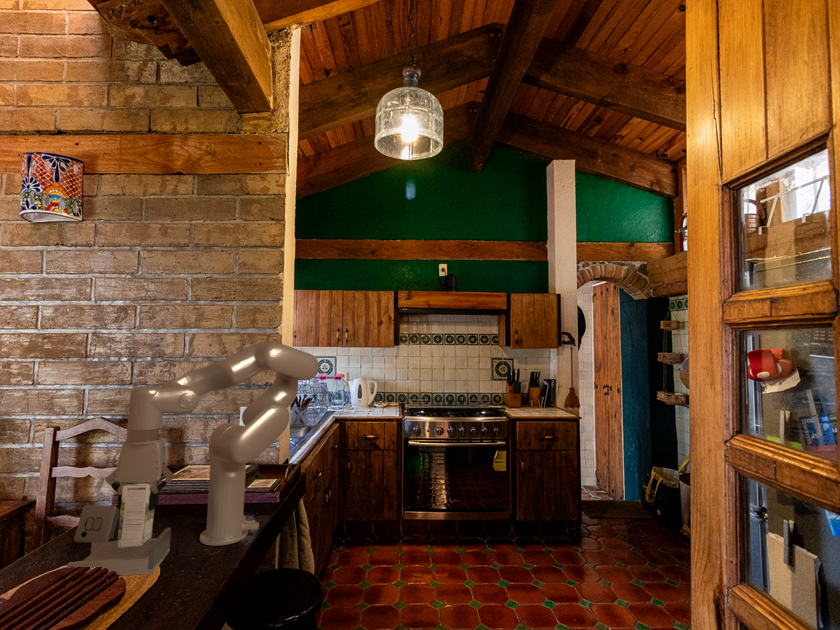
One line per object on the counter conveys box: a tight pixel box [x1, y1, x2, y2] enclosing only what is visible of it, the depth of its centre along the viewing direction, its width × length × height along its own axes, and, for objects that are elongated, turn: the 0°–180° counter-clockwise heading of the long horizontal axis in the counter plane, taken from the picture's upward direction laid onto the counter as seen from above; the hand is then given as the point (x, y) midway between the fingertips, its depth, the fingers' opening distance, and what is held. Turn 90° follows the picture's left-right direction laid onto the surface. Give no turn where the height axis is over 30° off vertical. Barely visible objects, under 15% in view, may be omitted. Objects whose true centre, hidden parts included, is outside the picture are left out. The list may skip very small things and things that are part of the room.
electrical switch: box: [73, 504, 120, 544], centre depth 122 cm, size 9×5×9 cm, turn 86°
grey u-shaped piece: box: [66, 527, 172, 575], centre depth 108 cm, size 18×12×6 cm, turn 103°
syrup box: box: [116, 482, 155, 548], centre depth 109 cm, size 6×6×14 cm
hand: (138, 508), depth 109 cm, fingers closed on syrup box, 6 cm apart
